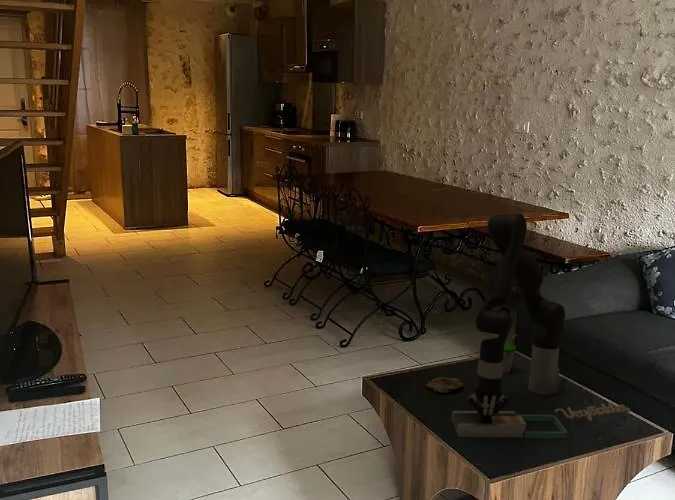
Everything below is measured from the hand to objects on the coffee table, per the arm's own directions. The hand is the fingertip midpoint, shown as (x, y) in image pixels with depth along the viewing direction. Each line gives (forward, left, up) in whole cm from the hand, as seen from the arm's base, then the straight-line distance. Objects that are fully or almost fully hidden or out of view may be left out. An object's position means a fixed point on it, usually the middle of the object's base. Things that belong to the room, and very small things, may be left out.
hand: (485, 424), depth 205 cm
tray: (-17, 0, -2) cm, 17 cm away
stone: (+7, -32, -3) cm, 32 cm away
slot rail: (0, 0, -2) cm, 2 cm away
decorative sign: (-40, -13, -3) cm, 42 cm away
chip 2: (-9, 0, -1) cm, 9 cm away
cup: (-19, -48, -3) cm, 52 cm away
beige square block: (-4, 0, -1) cm, 4 cm away
